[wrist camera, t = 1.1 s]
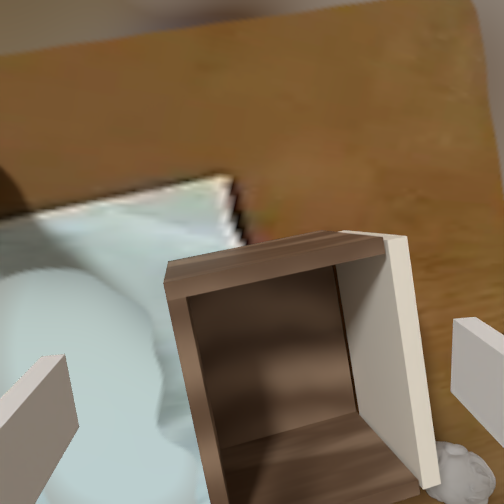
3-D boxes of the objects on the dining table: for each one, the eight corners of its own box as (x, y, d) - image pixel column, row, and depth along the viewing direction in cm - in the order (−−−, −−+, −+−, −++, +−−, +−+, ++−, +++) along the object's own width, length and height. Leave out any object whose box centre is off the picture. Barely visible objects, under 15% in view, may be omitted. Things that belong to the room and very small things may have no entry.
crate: (351, 415, 43) (420, 494, 31) (209, 455, 41) (222, 558, 29) (321, 230, 41) (383, 236, 29) (168, 261, 38) (163, 283, 26)
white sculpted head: (455, 477, 46) (503, 523, 39) (399, 481, 45) (438, 529, 38) (460, 426, 46) (510, 463, 39) (403, 428, 44) (444, 467, 38)
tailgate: (373, 414, 42) (440, 483, 31) (360, 418, 42) (423, 489, 31) (344, 230, 40) (406, 236, 29) (330, 233, 39) (387, 240, 29)
